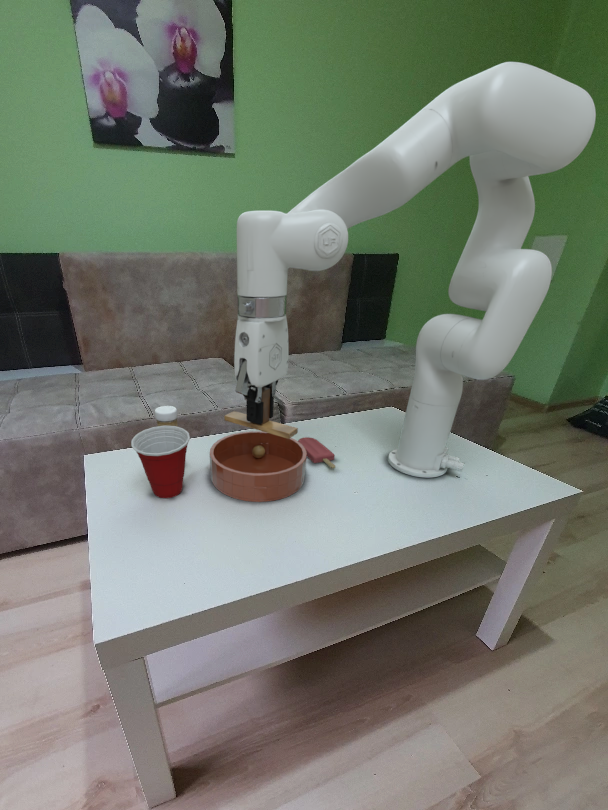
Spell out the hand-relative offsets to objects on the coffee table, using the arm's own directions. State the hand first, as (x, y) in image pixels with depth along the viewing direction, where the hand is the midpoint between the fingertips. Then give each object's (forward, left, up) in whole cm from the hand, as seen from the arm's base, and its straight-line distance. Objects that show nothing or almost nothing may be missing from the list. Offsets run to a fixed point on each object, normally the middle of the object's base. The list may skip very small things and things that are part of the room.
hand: (259, 418), depth 69 cm
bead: (+8, -11, -14) cm, 20 cm away
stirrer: (0, 0, -2) cm, 2 cm away
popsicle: (-2, -21, -16) cm, 27 cm away
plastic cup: (+15, +11, -16) cm, 25 cm away
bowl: (+4, -5, -16) cm, 17 cm away
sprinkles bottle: (+22, +3, -16) cm, 27 cm away
